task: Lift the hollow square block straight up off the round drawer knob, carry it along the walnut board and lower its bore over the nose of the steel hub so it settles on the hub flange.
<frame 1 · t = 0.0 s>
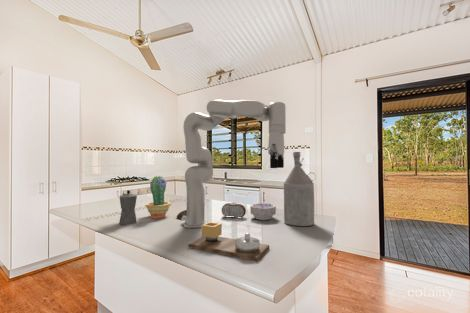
hand: (277, 167, 104), 31 cm above the countertop, tool pointing down, fingers open, 9 cm apart
round drawer knob: (211, 243, 95), resting on board
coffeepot: (127, 223, 129), on the countertop
hollow square block: (211, 235, 95), point 3 cm above the countertop, touching round drawer knob
tin: (233, 217, 141), on the countertop
bread roll: (187, 218, 141), on the countertop
paper bowls: (263, 218, 139), on the countertop
hub: (247, 252, 86), resting on board
board: (228, 248, 91), on the countertop
potted cactus: (158, 216, 144), on the countertop
grey bottle: (299, 223, 127), on the countertop
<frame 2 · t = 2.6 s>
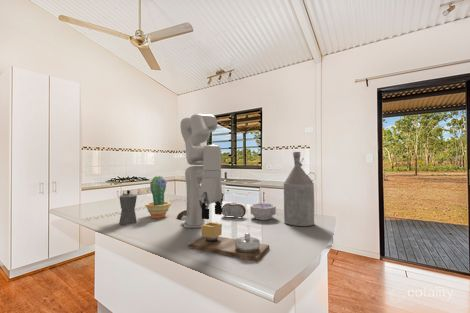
hand: (212, 216, 95), 11 cm above the countertop, tool pointing down, fingers open, 9 cm apart
nothing on the countertop moved.
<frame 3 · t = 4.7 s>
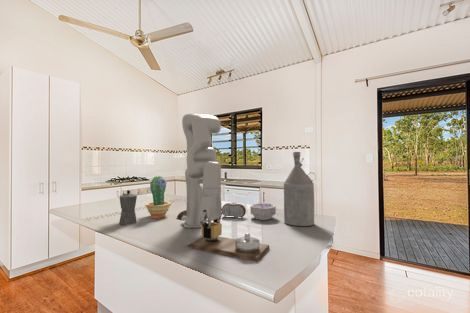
hand: (211, 235, 95), 4 cm above the countertop, tool pointing down, fingers closed on hollow square block, 5 cm apart
hollow square block: (211, 235, 95), point 4 cm above the countertop, touching gripper, round drawer knob
everything else where it was.
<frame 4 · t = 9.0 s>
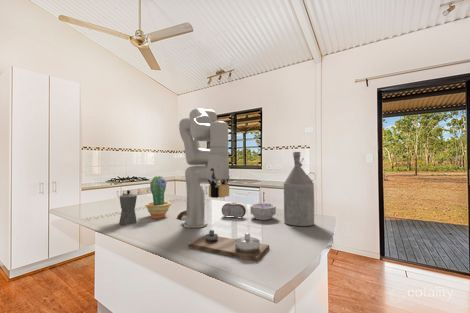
hand: (219, 196, 93), 20 cm above the countertop, tool pointing down, fingers closed on hollow square block, 5 cm apart
hollow square block: (219, 196, 94), point 20 cm above the countertop, touching gripper
everything else where it was.
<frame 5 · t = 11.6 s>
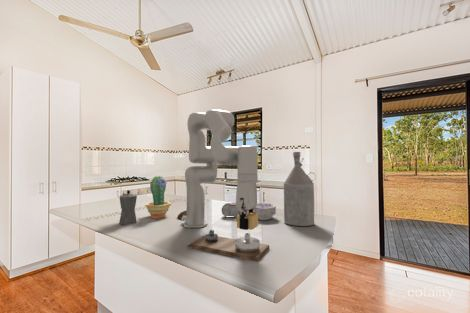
hand: (247, 226, 86), 10 cm above the countertop, tool pointing down, fingers closed on hollow square block, 5 cm apart
hollow square block: (247, 226, 86), point 10 cm above the countertop, touching gripper
everything else where it was.
when the fingers open (5 cm above the countertop, at t = 13.6 s): hollow square block stays where it is, resting on hub.
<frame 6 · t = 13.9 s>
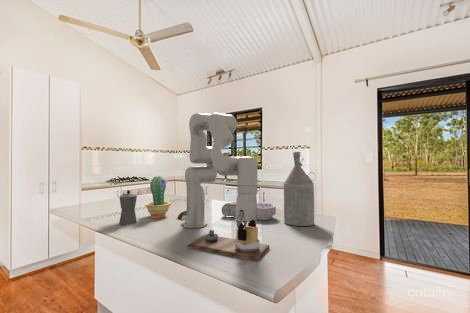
hand: (247, 236, 86), 6 cm above the countertop, tool pointing down, fingers open, 8 cm apart
hollow square block: (247, 240, 86), point 4 cm above the countertop, touching hub
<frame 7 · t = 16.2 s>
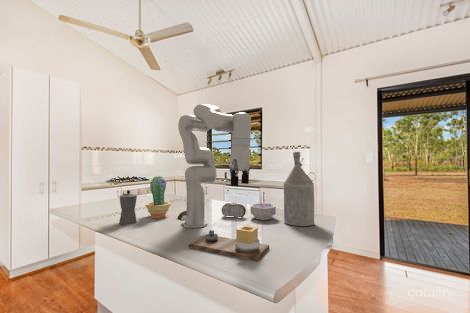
hand: (239, 184, 95), 24 cm above the countertop, tool pointing down, fingers open, 9 cm apart
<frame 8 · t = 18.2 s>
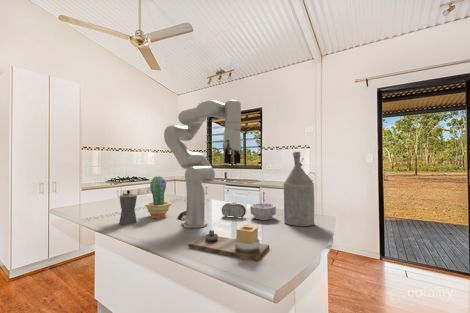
hand: (232, 163, 109), 33 cm above the countertop, tool pointing down, fingers open, 9 cm apart
at the end: hollow square block 0.1 cm off-centre on the hub, point 4.5 cm above the hub's base; hollow square block tilted 0°; the gripper is holding nothing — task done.
